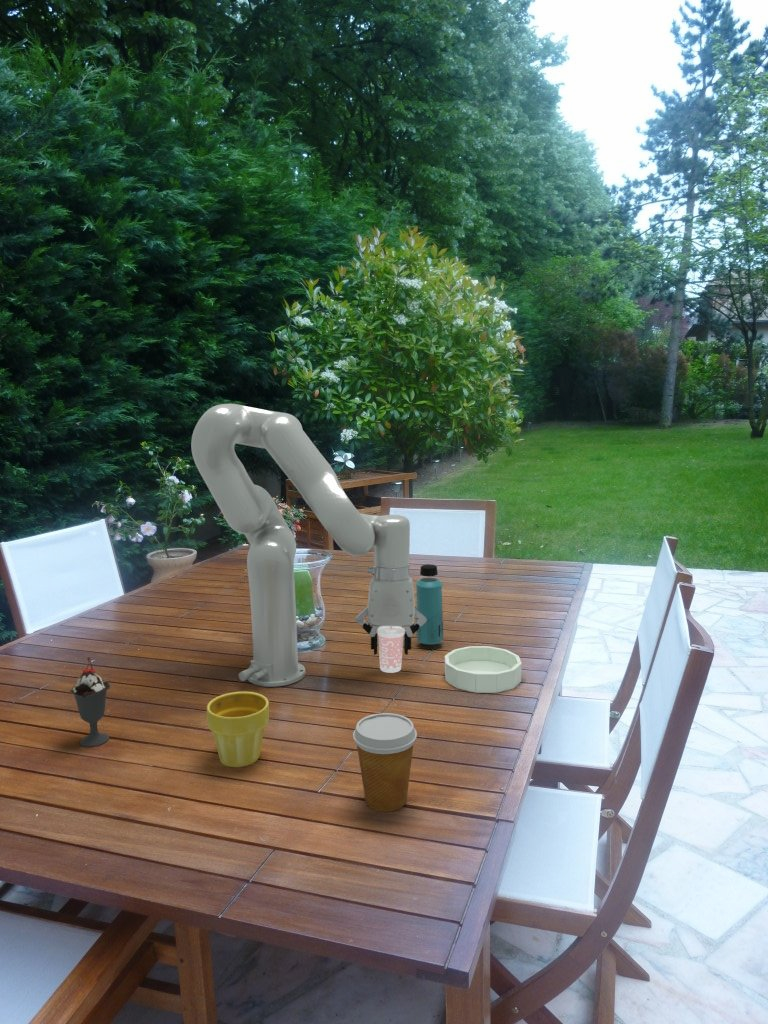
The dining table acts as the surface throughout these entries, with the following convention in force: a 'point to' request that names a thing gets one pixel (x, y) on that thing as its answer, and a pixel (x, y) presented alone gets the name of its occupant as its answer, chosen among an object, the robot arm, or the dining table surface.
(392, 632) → the beverage cup
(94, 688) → the sundae
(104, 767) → the dining table surface
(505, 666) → the bowl
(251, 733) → the plant pot
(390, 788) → the disposable coffee cup
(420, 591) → the beverage bottle
